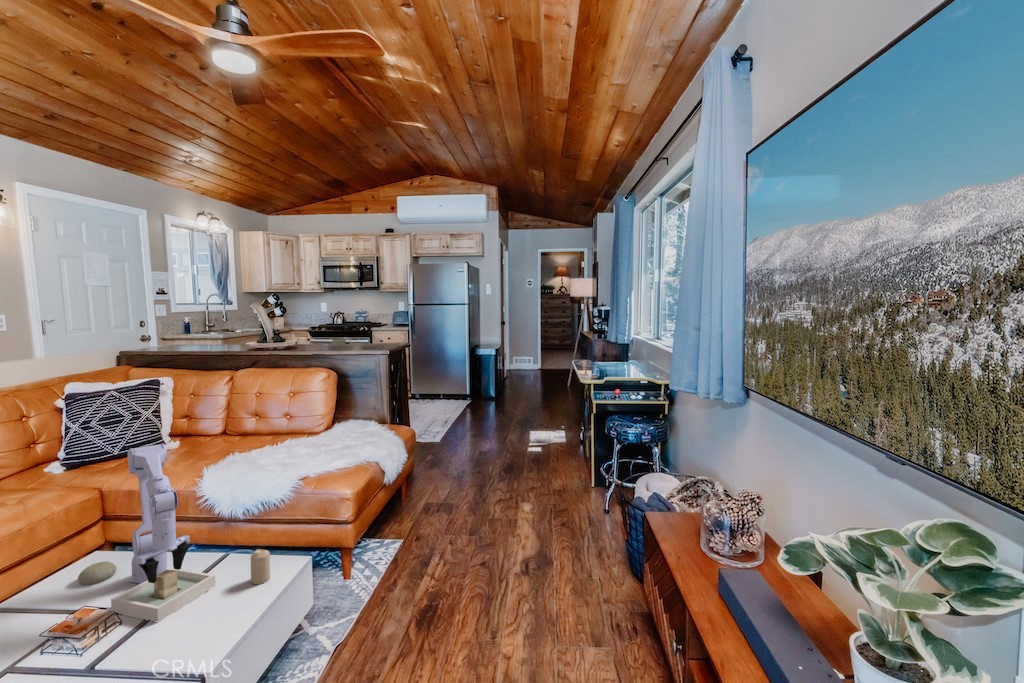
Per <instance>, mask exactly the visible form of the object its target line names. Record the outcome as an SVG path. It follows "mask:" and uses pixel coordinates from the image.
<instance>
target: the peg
mask: <svg viewBox="0 0 1024 683" xmlns="http://www.w3.org/2000/svg"><path fill="white" fill-rule="evenodd" d="M176 592H177V571H172V570H168V569H167V570H165V571H163V572H162V573H160V574H158V575H157V579H156V582H155V583H154V598H155V599H160V600H164V599H166V598H168V597H169V596H171V595H173V594H174V593H176Z"/></svg>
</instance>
